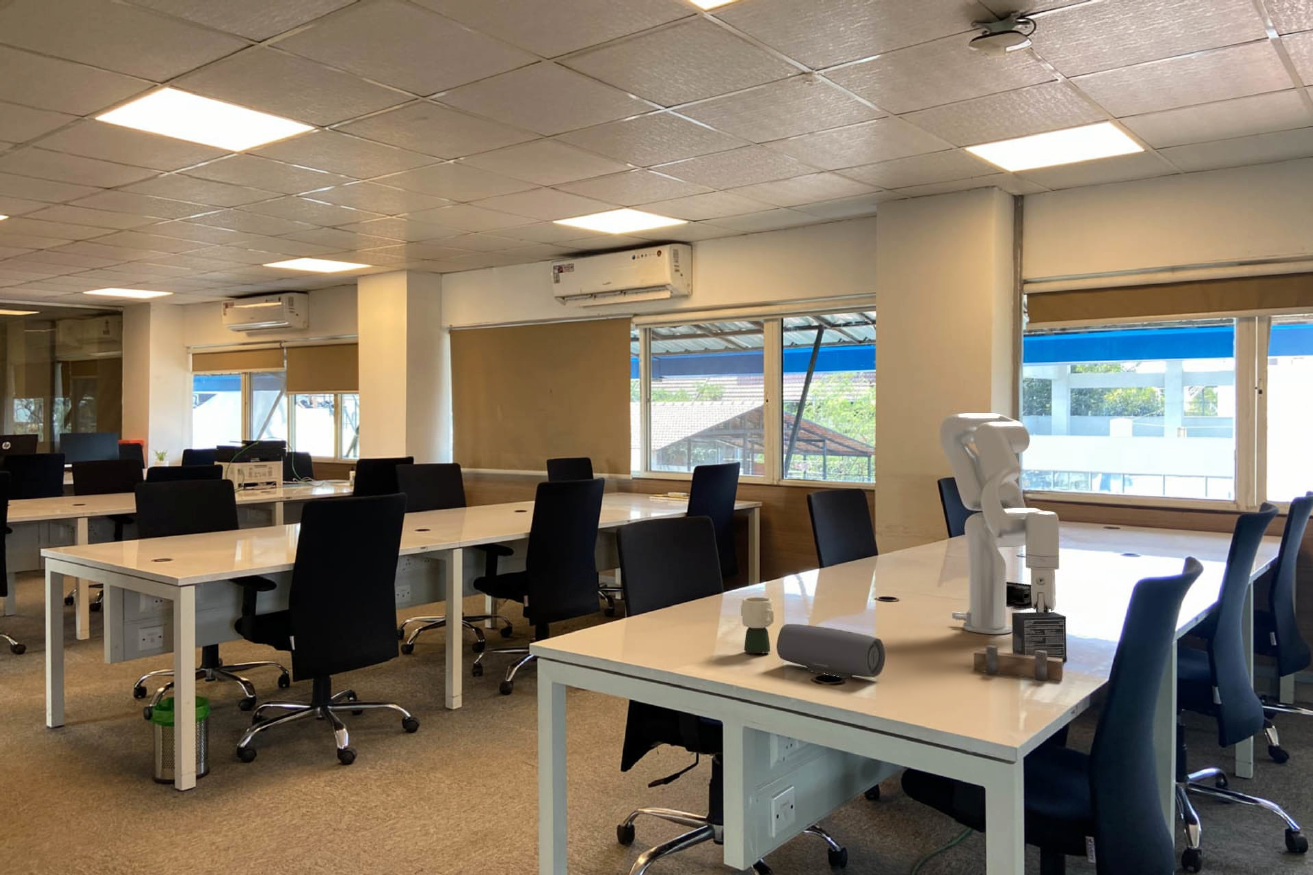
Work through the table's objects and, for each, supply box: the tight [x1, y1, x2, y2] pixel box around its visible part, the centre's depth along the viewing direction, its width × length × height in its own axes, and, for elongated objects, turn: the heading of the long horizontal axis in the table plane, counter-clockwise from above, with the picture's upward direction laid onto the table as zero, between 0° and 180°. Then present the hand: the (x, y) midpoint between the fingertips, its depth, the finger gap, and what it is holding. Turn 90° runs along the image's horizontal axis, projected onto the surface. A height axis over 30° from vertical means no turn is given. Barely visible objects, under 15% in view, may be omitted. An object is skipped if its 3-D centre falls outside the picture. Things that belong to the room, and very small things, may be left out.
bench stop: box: [973, 645, 1064, 682], centre depth 199 cm, size 18×5×6 cm, turn 63°
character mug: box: [740, 596, 775, 655], centre depth 219 cm, size 11×7×13 cm, turn 37°
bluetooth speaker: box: [776, 623, 886, 679], centre depth 201 cm, size 23×9×10 cm, turn 48°
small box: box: [1011, 611, 1068, 662], centre depth 213 cm, size 11×6×10 cm, turn 92°
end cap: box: [1006, 581, 1032, 609], centre depth 279 cm, size 10×7×7 cm
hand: (1042, 637), depth 221 cm, fingers closed
